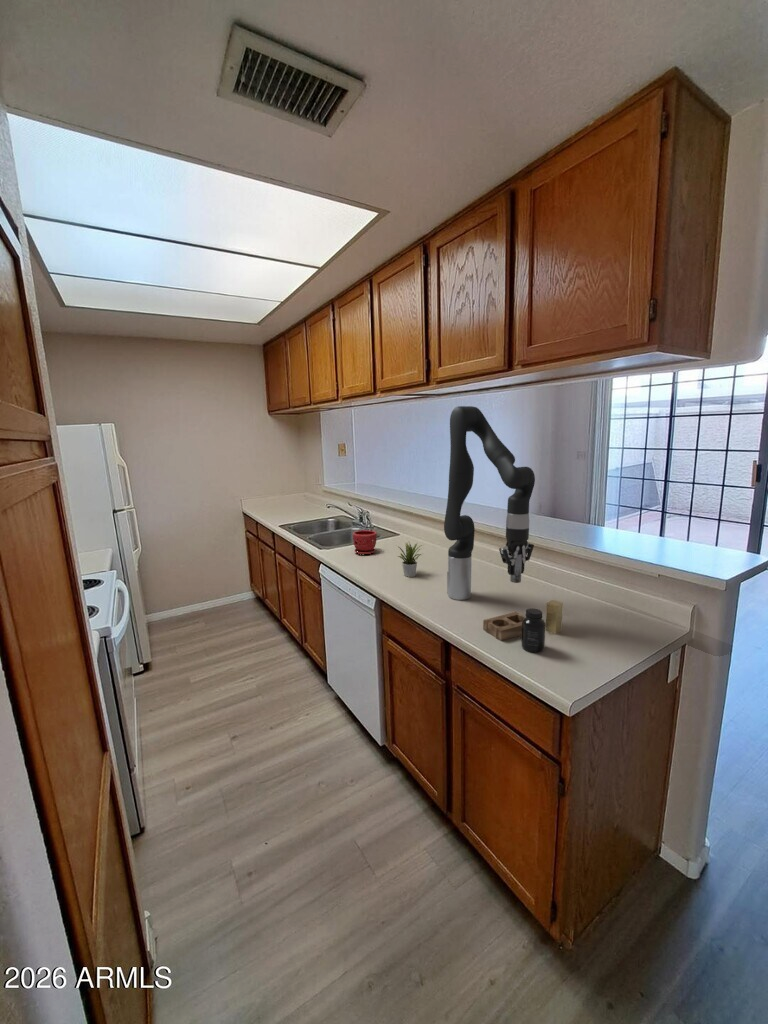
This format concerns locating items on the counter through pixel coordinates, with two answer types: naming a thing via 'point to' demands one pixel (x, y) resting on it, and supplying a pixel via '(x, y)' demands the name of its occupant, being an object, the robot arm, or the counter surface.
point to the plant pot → (362, 545)
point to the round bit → (517, 569)
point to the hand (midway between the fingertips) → (515, 573)
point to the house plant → (409, 560)
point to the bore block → (504, 626)
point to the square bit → (554, 616)
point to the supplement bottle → (533, 631)
